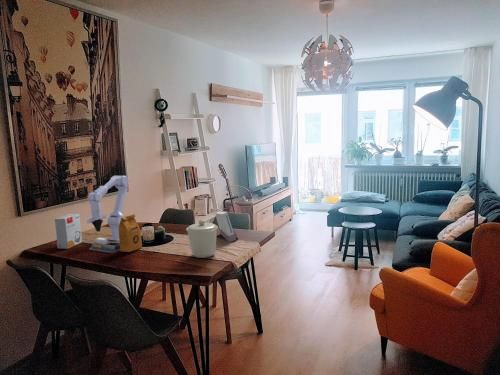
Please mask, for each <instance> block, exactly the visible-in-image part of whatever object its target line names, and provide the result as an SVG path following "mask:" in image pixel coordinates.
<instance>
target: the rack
mask: <svg viewBox="0 0 500 375" xmlns="http://www.w3.org/2000/svg"><path fill="white" fill-rule="evenodd" d="M107 242H108V243H106V244H98V243H96V241H95V242H92V243H91V247H90V248H89V249H88V250H89V251H94V252H102V253H108V254H114V253H116V252H120V243H119V242H117V241H111V240H110V241H109V240H107Z"/></svg>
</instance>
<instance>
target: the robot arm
mask: <svg viewBox="0 0 500 375" xmlns="http://www.w3.org/2000/svg"><path fill="white" fill-rule="evenodd" d="M113 186H114V187H115V188H116V189H117V190H118V192H117V195H116V199H115V203H114V208H113V210H112V212H110V214H109V215H108V216H109V217H108V218H107V214H103V215H102V211H101V210H102V209H101V202H100V201H102V198H103V197H104V196H105V195H106V194H107V193H108V190H109V189H112V187H113ZM128 186H129V178H128V177H127V175H113V176H112V177H110V179H109V181H108V182H106V183H105V184H104V185H99V186H98V188H97V189H95V190H93V192H90V193H89V194H88V195H87V201H88V202H89V205H90V212H91V217H90V218H89V219H86V223H87V224H91V223H92V225H93V227H94V229H95V232H100V231H101V230H102V229H101V228H102V225H103V222H104V219H107V224H108V225H109V227H110V233H111V238H109V240H110V241H115V242H117V241H119V224H120V220H121V218H123V217H125V216H124V214H123V213H122V212H123V208H124V203H125V200H126V195H127V191H128ZM109 240H108V241H109Z"/></svg>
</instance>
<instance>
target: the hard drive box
mask: <svg viewBox="0 0 500 375" xmlns="http://www.w3.org/2000/svg"><path fill="white" fill-rule="evenodd" d="M80 217H81V216H80V213H68V214H66V215H65V214H64V215H62V216H59V217H57V218H54V224H55V234H56V242H57V249H64V250H65V249H70V248H73V247H74V246H76V245H79V244H81V243H83V235H82V228H81V218H80Z"/></svg>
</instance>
